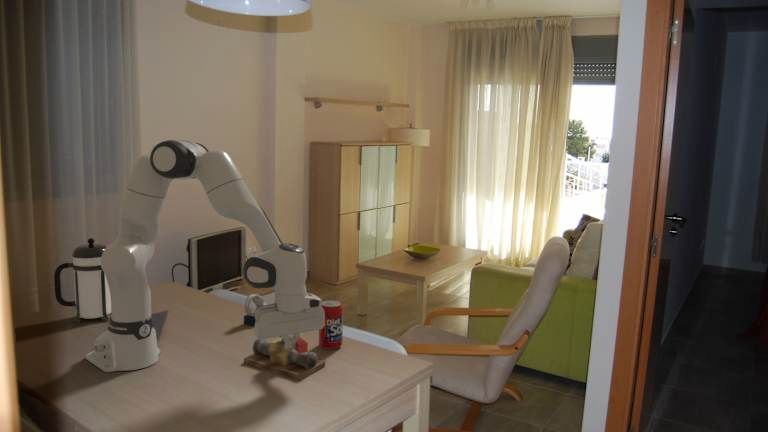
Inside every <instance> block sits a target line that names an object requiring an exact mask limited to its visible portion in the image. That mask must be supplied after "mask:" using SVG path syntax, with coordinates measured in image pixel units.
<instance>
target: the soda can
mask: <svg viewBox="0 0 768 432" xmlns="http://www.w3.org/2000/svg"><path fill="white" fill-rule="evenodd" d="M321 307H322V308H323V310H324V315H325V326H324V327H323V329H320V330H318V346H320V348H323V349H324V350H336V349H338V348H340V347H341V346H342V345H343V330H344V328H343V327H344V326H343V323H344V322H343V321H344V317H343V316H344V307H343V306H342V302H340V301H339V300H325V301H323V304H322V306H321Z"/></svg>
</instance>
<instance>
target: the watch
mask: <svg viewBox="0 0 768 432" xmlns="http://www.w3.org/2000/svg"><path fill="white" fill-rule="evenodd" d="M251 302H252V303H253V304H254V305H255V307H256V308H255V310H256V309H257V308H259V307H260V306H261V305H264V303H265V299H264V298H263V296H261V295H259V294H257V293H251V294H249V295H248V296H247V297H246V299H245V301H244V307H243V308H244V311H245V313H246V314H245V315H243V325H246V324H247V326H250V325H251V327H255V321H256V320H255V311H252V308H251V306H250V305H251ZM258 310H259V309H258Z"/></svg>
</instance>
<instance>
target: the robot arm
mask: <svg viewBox="0 0 768 432" xmlns="http://www.w3.org/2000/svg"><path fill="white" fill-rule="evenodd" d="M175 179H176V180H188V179H197V180H198V181H199V182H200V183H201V185H202V187H203V190H204V192H205V194H206V196H207V198H208V200H209V203H210V205H211V207H212V208H213V210H215V212H216V213H217V215H219V216H220V217H224V218H226V219H229V220H234V221H237V222H239V223H241V224H243V225H245V226H246V227H247V228H249V229H250V232H251V233H252V234H253V237H254V238H255V239H256V241H257V243H258V245H259V247H260V248H261V250H262V252H261V253H258V254H254V255H252V256H251V257H249V258H247V259H246V260H245V262H244V264H243V265H242V267H243V268H242V274H243V278H244V280H245V282H246V283H247V284H248V285H249V286H250V287H251V288H255V289H269V288H273V289H274V303H269V304H263V305H261V306H260V307H259V308H257V307H256V308H257V309H256V308H255V310H254V312H255V320H256V321H255V326H254V335H255V336H256V337H257V339H258V338H259V339H265V340H266V339H272V338H278V337H279V336H281V337H282V339H283V340H284V342H285V348H286V349H292V348H295V347H296V341H297V340H298V338H299V337H300V334H301V333H306V332H307V333H308V332H312V331H319V330H320V329H323V327H324V326H325V315H324V310H323V308H322V307H321V306H322V304H323V302H324V301H323V300H322V298H321V297H319V296H318V295H315V294H313V293H310V292H307V286H306V280H307V277H308V273H307V272H308V270H307V268H308V266H307V255H306V253H305V249H304V248H303V247H301V246H299V245H297V244H293V243H288V242H287V243H284V242H283V241H282V239H281V237H280V236H279V234H278V232H277V231H276V229H275V228H274V226H273V224H272V223H271V221H270V219H269V217H268V216H267V214H266V212H265V211H264V209H263V208H262V206H261V205H260V203H259V202H258V201H257V200H256V199H255V198H254V196H253V194H252V192H251V191H250V190H249V188H248V186H247V184H246V183H245V180H244V178H243V177H242V173H241V172H240V170H239V169H238V166H237V165H236V164H235V162H234V161H233V159H232V158H231V156H230V154H229V153H227V152H226V151H225V150H221V149H213V150H212V149H211V150H209V149H208V148H207V147H206V146H204V144H201V143H198V142H194V141H193V142H192V141H191V140H190V141H189V140H175V139H174V140H172V139H170V140H164V141H161V142H159V143H157V144H156V145H155V146H154V147H153V148H152V150H151V152H150V153H149V154H147V153H146V154H143V155H141V156H139V157H138V159H137V160H136V162H135V164H134V166H133V168H132V170H131V172H130V175H129V178H128V181H127V182H126V183H127V184H126V187H125V191H124V194H123V197H122V202H121V205H120V210H119V229H118V233H117V237H116V238H115V240H114V241H112V242H111V243H109V244H108V245H106V246H107V247H106V248H105V250H104V252H103V254H102V256H101V260H100V263H101V268H102V270H103V271H104V273H105V275H106V279H107V282H108V286H109V290H110V298H111V313H110V314H111V315H110V317H108V318H107V319H109V320H108V321H106V323H108V326H107V329H106V330H105V331H103V333H101V334H100V335H98V336H97V337H96V338H95V340H94V344H93V350H92V351H90V352H88V353H87V354H86V355H85V360H87V361H88V362H90V363H92V365H94V366H95V367H96V368H99V369H100V370H101V371H102V372H104V373H113V372H117V371H118V372H120V371H121V372H122V371H126V372H127V371H135V370H136V371H137V370H141V369H144V368H148V367H150V366H152V365H154V364H156V363H157V362H158V361H159V359H160V357H159V355H160V354H161V348H159V346H158V341H157V332H156V329H155V328H154V321H155V320H154V314H153V313H152V293H151V292H152V291H151V288H150V286H149V284H148V283H149V282H148V279H147V273H146V267H147V264H148V263H149V262H150V261H151V260H152V259H153V256H154V253H155V248H156V244H157V239H158V234H159V233H158V231H159V224H160V220H161V215H162V212H163V208H164V206H165V202H166V198H167V194H168V189H169V187H170V184H171V182H173V180H175ZM258 309H259V310H258ZM290 334H292V335H294V336H293V338H292V340H291V341H288V340H287V339H286V338H288V335H290ZM281 337H280V338H281Z"/></svg>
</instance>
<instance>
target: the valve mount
mask: <svg viewBox="0 0 768 432" xmlns="http://www.w3.org/2000/svg"><path fill="white" fill-rule="evenodd" d="M252 352H253V353H252V354H250V355H248V356H246V357H244V358H243V364H247V365H250V366H253V367H256V368H259V369H263V370H266V371H269V372H271V373H272V372H273V373H276V374H279V375H282V376H285V377H289V378H291V379H294V380H298V381H302V380H304V379H306V378H307V377H309V376H311V375H313V374H314V373H316V372H317V371H319V370H321V369H323V368H325V367H326V361H324V360H321V359H318V355H317V353H316V352H313V351H310V352H305V353H298V352H297V351H295V350H294V349H293V348H292V349H286V348H285V342H284V340H283V339H282V338H281V337H279V338H278V337H277V338H276V339H274V340H272V341H269V342H268V341H267V340H266V339H259V338H258V337H257V339H256V340H255V341H254V343H253V345H252Z"/></svg>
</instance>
